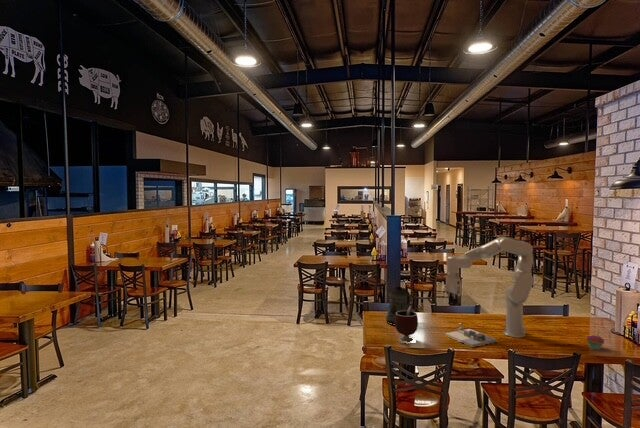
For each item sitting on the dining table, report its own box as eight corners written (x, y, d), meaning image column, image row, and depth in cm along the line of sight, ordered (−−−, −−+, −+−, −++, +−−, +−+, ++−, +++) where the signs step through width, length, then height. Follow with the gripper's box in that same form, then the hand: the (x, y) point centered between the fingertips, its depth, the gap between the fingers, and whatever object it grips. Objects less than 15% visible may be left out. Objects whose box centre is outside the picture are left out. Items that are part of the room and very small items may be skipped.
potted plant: (382, 324, 282) (382, 289, 281) (391, 317, 299) (391, 283, 298) (406, 327, 274) (405, 291, 273) (413, 320, 291) (413, 285, 290)
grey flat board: (445, 336, 255) (445, 328, 255) (469, 331, 263) (469, 324, 263) (471, 347, 235) (471, 339, 235) (497, 342, 243) (497, 334, 243)
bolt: (456, 330, 259) (456, 322, 259) (458, 330, 260) (458, 321, 260) (467, 335, 250) (467, 326, 249) (470, 334, 251) (470, 325, 250)
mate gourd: (413, 346, 239) (413, 312, 238) (391, 342, 246) (391, 310, 246) (421, 338, 252) (421, 306, 252) (400, 335, 259) (400, 304, 259)
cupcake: (597, 345, 236) (597, 325, 235) (608, 350, 227) (608, 329, 227) (582, 345, 235) (583, 325, 235) (593, 351, 227) (593, 330, 226)
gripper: (466, 276, 256) (466, 305, 256) (448, 272, 271) (448, 299, 271) (457, 278, 253) (457, 307, 253) (439, 273, 268) (439, 301, 268)
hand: (453, 303), depth 262 cm, fingers open, 3 cm apart
